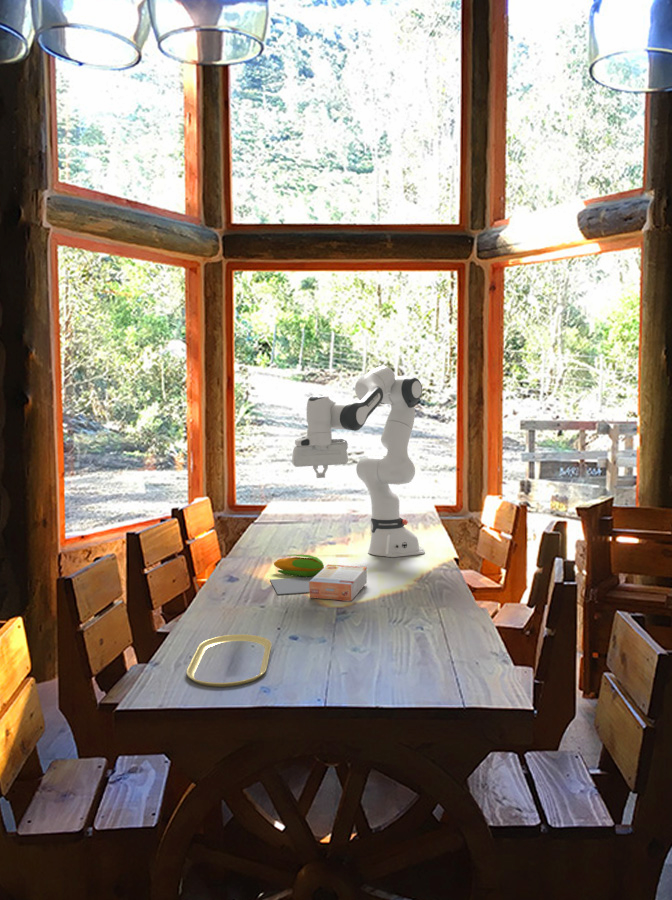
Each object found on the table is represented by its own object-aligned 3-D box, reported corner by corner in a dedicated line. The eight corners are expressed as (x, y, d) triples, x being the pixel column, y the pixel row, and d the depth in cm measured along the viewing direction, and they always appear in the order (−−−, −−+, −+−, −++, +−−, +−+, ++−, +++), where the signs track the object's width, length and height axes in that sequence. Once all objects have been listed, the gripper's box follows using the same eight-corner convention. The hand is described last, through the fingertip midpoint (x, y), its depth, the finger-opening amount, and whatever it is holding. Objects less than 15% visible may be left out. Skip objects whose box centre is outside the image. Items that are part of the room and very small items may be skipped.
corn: (318, 557, 278) (268, 553, 286) (318, 579, 278) (267, 574, 286) (327, 555, 284) (278, 551, 292) (327, 576, 284) (277, 571, 293)
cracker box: (327, 580, 273) (308, 598, 253) (327, 563, 272) (308, 579, 252) (367, 584, 269) (351, 602, 249) (367, 566, 268) (351, 583, 248)
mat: (332, 576, 282) (332, 575, 282) (344, 590, 262) (344, 589, 262) (270, 580, 277) (270, 579, 277) (277, 595, 258) (277, 593, 258)
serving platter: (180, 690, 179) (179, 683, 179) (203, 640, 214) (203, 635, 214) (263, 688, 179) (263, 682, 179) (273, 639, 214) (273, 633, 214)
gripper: (345, 437, 294) (346, 475, 296) (290, 440, 290) (292, 478, 291) (349, 439, 288) (350, 477, 289) (293, 441, 284) (295, 480, 285)
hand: (320, 477), depth 290 cm, fingers closed
